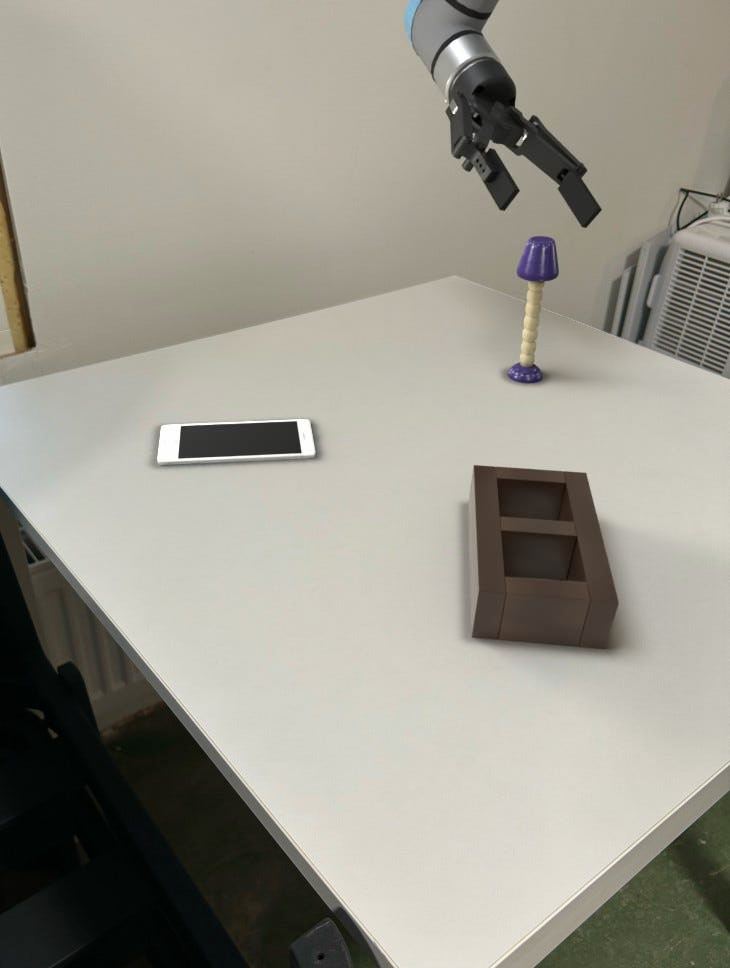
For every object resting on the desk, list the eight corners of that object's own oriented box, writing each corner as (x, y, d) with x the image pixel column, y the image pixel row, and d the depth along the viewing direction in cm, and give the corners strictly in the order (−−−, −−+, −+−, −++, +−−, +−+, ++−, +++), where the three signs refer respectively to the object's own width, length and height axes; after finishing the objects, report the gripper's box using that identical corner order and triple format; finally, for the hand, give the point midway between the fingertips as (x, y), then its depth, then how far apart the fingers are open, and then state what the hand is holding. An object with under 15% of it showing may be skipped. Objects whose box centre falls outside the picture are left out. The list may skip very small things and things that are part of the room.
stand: (575, 518, 77) (586, 472, 74) (604, 653, 62) (619, 602, 59) (467, 510, 78) (473, 464, 75) (470, 641, 63) (478, 590, 60)
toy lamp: (509, 387, 99) (530, 246, 89) (496, 371, 102) (515, 233, 93) (547, 385, 99) (572, 244, 89) (533, 369, 103) (556, 232, 93)
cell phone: (162, 429, 89) (161, 424, 89) (309, 423, 91) (309, 418, 90) (157, 467, 83) (156, 461, 83) (316, 459, 84) (316, 454, 84)
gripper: (527, 133, 110) (600, 249, 102) (379, 91, 96) (450, 220, 88) (564, 82, 104) (645, 200, 96) (413, 29, 91) (493, 161, 82)
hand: (552, 210), depth 92 cm, fingers open, 13 cm apart
